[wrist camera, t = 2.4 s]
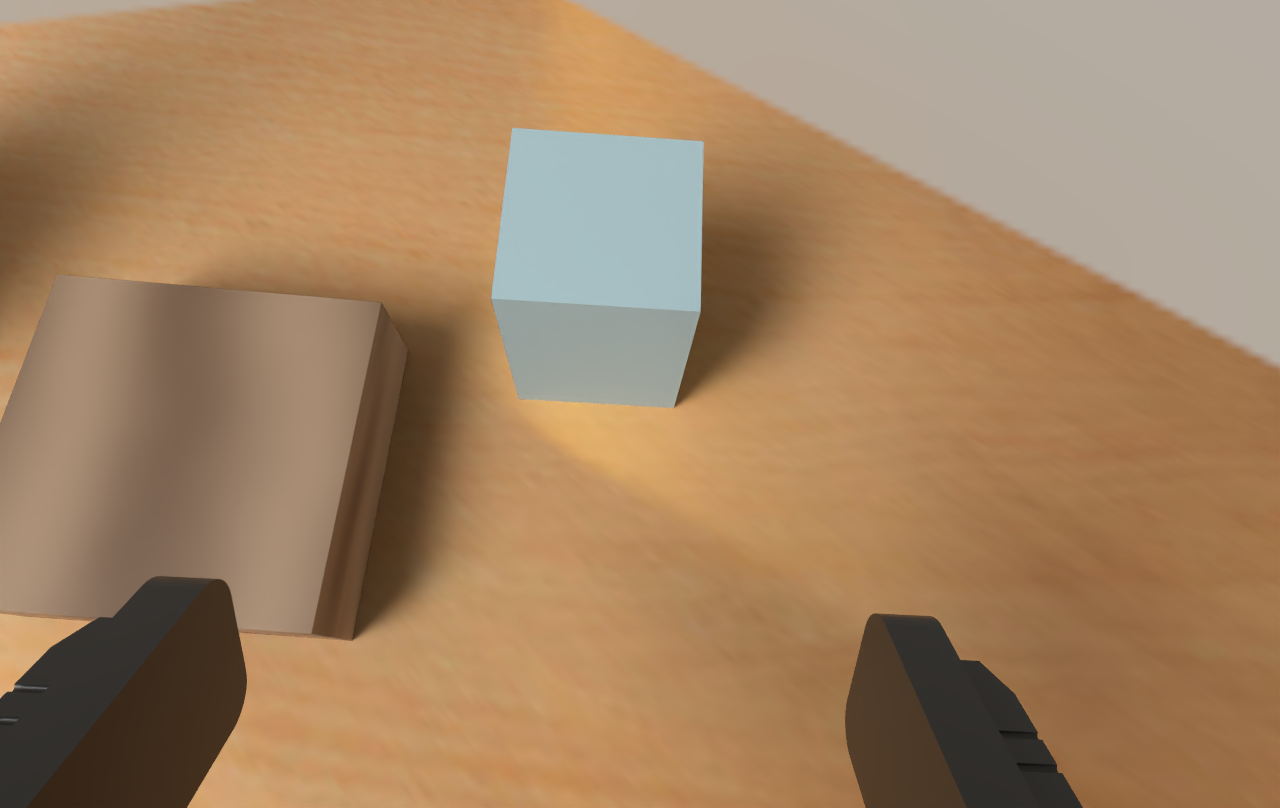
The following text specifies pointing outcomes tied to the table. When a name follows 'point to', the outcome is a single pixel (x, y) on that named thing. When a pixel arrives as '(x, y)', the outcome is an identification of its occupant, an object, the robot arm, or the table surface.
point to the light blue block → (599, 266)
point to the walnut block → (197, 451)
